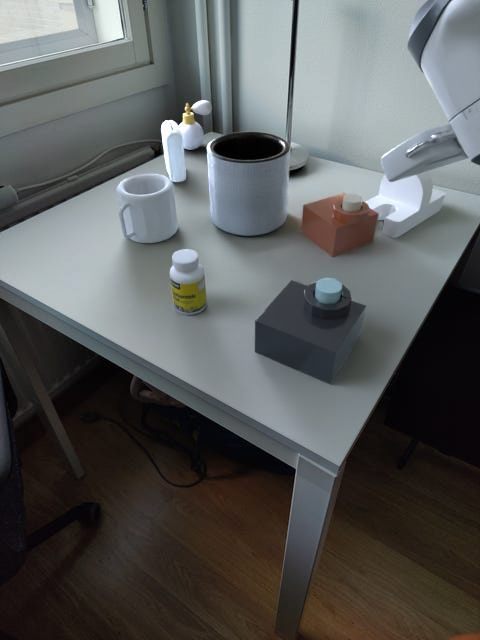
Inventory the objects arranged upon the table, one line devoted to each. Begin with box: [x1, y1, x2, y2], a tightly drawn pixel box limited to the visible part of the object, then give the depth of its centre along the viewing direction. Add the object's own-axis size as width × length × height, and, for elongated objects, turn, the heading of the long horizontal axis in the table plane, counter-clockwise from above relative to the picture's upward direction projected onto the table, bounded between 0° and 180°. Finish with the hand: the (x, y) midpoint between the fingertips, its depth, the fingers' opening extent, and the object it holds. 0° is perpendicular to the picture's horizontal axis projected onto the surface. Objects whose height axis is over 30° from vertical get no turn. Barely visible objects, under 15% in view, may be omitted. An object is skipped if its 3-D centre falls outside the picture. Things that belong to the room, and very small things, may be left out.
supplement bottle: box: [169, 248, 208, 316], centre depth 73 cm, size 5×5×10 cm
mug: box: [116, 173, 179, 244], centre depth 90 cm, size 14×11×10 cm
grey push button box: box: [254, 279, 367, 385], centre depth 66 cm, size 12×12×8 cm
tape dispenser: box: [364, 171, 446, 239], centre depth 94 cm, size 10×18×11 cm, turn 132°
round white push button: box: [342, 193, 363, 212], centre depth 84 cm, size 3×3×2 cm
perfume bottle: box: [178, 99, 213, 151], centre depth 124 cm, size 8×10×12 cm
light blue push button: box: [315, 277, 343, 304], centre depth 64 cm, size 4×4×2 cm
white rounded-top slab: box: [160, 119, 187, 183], centre depth 111 cm, size 10×4×12 cm, turn 15°
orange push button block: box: [300, 192, 379, 258], centre depth 88 cm, size 11×10×8 cm
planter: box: [206, 130, 291, 237], centre depth 92 cm, size 16×16×16 cm
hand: (411, 170), depth 69 cm, fingers closed
